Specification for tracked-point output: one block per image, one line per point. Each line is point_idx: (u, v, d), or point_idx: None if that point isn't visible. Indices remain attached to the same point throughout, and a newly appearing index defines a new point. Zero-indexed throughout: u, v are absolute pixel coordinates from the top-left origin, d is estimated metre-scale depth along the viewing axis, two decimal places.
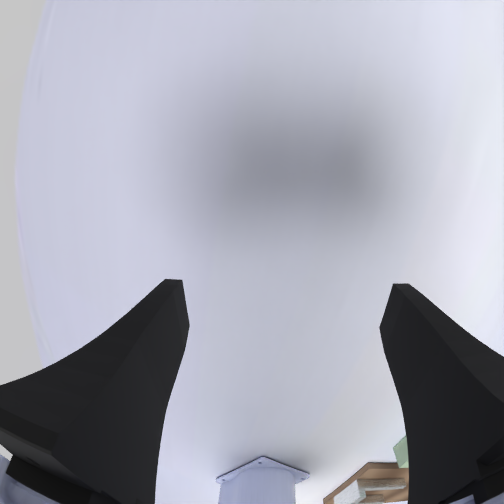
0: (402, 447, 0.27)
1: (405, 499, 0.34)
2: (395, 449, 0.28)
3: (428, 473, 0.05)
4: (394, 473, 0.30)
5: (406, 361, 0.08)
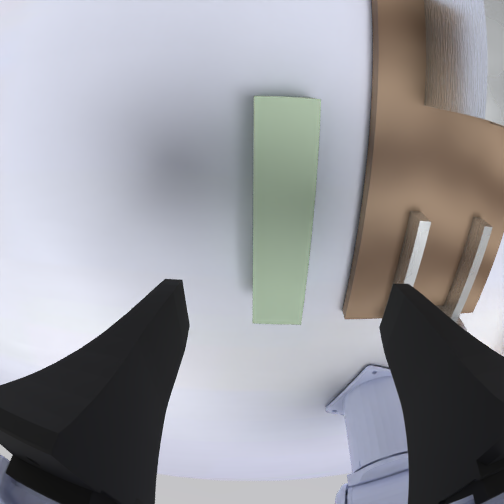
0: None
1: None
2: None
3: (428, 473, 0.05)
4: (378, 255, 0.19)
5: (406, 361, 0.08)
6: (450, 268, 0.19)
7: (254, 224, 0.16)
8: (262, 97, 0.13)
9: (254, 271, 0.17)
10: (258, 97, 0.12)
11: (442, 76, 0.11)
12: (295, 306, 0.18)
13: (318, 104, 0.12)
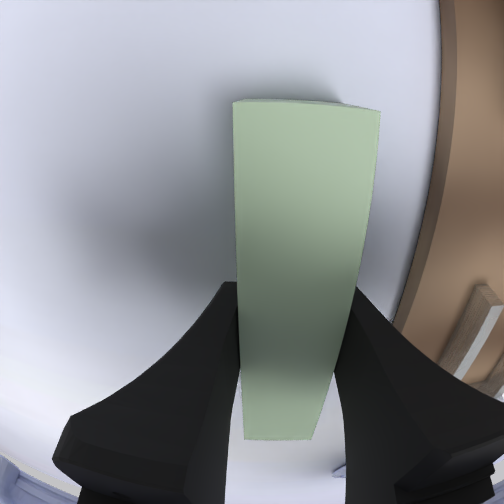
0: None
1: None
2: None
3: (358, 488, 0.05)
4: (422, 342, 0.12)
5: (345, 366, 0.08)
6: (503, 343, 0.12)
7: (241, 341, 0.09)
8: (252, 104, 0.06)
9: (244, 394, 0.10)
10: (243, 104, 0.06)
11: None
12: (305, 425, 0.11)
13: (375, 122, 0.06)
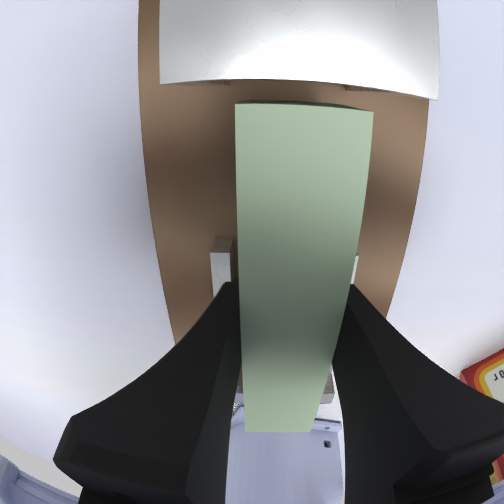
0: None
1: None
2: None
3: (357, 488, 0.05)
4: (188, 291, 0.15)
5: (344, 366, 0.08)
6: None
7: (242, 332, 0.09)
8: (253, 105, 0.06)
9: (245, 385, 0.10)
10: (245, 106, 0.06)
11: None
12: (304, 417, 0.12)
13: (368, 122, 0.06)
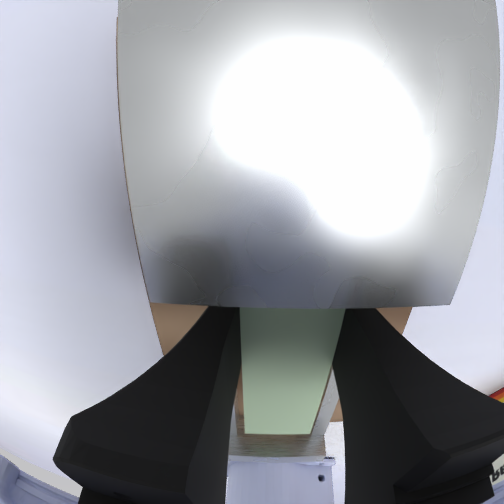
0: None
1: None
2: None
3: (357, 488, 0.05)
4: None
5: (344, 366, 0.08)
6: None
7: (242, 335, 0.09)
8: None
9: (245, 388, 0.11)
10: None
11: None
12: (304, 419, 0.12)
13: None
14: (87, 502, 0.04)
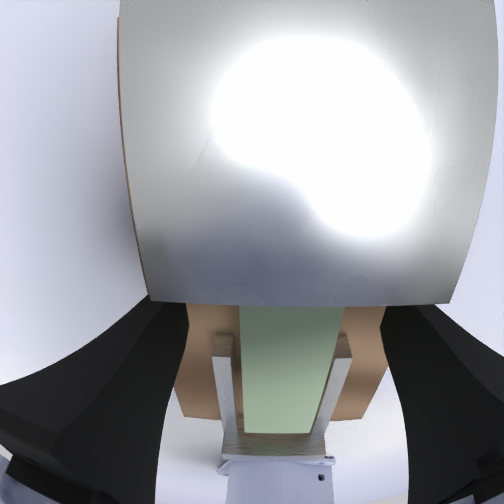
0: None
1: None
2: None
3: (428, 473, 0.05)
4: (192, 371, 0.16)
5: (405, 361, 0.08)
6: None
7: (242, 334, 0.09)
8: None
9: (244, 387, 0.11)
10: None
11: None
12: (304, 418, 0.12)
13: None
14: (87, 502, 0.04)
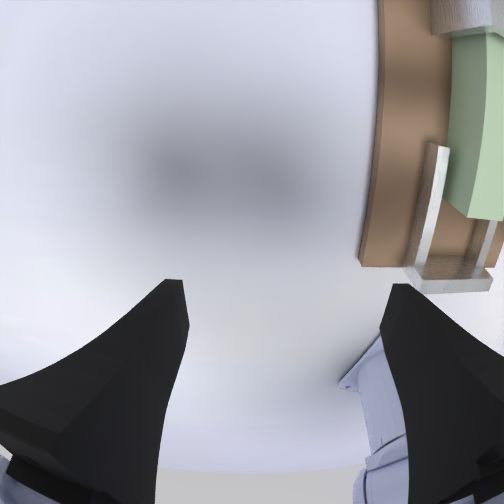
0: None
1: None
2: None
3: (428, 473, 0.05)
4: (396, 189, 0.16)
5: (406, 361, 0.08)
6: None
7: (487, 94, 0.10)
8: None
9: (482, 147, 0.11)
10: None
11: (446, 3, 0.09)
12: (503, 196, 0.12)
13: None
14: (87, 502, 0.04)
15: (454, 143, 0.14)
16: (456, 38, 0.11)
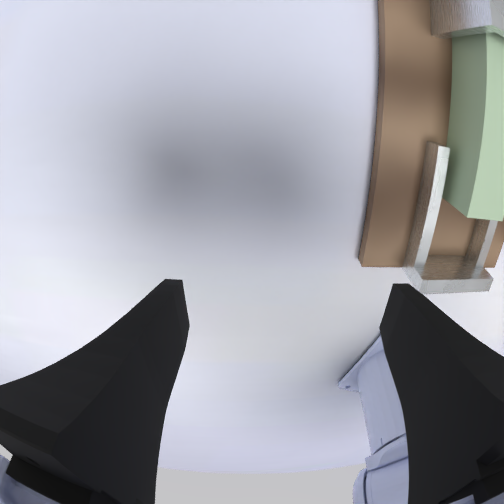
0: None
1: None
2: None
3: (428, 473, 0.05)
4: (396, 189, 0.16)
5: (406, 361, 0.08)
6: None
7: (487, 94, 0.10)
8: None
9: (482, 147, 0.11)
10: None
11: (446, 3, 0.09)
12: (503, 196, 0.12)
13: None
14: (87, 502, 0.04)
15: (454, 143, 0.14)
16: (456, 38, 0.11)
